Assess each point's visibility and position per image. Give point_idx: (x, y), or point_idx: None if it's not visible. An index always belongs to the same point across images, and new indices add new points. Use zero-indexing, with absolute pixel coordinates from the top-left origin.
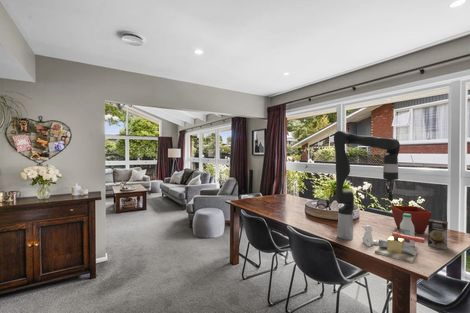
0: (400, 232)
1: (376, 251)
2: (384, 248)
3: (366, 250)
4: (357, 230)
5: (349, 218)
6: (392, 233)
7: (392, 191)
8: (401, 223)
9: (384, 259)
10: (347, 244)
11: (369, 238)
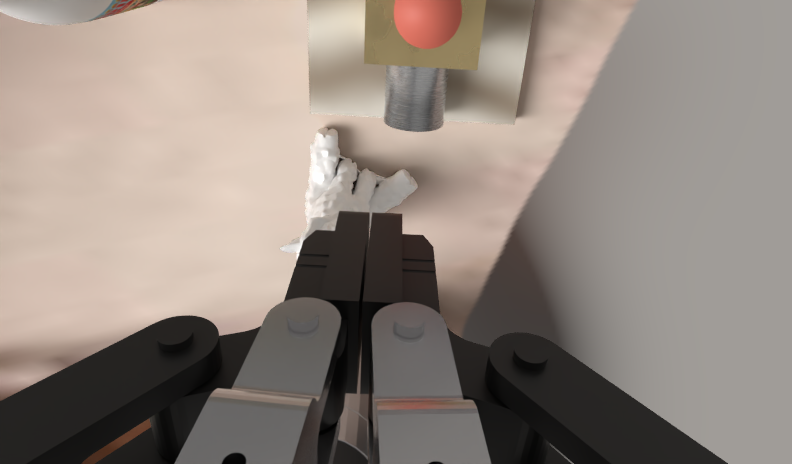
0: (128, 5)
1: (515, 111)
2: None
3: (496, 170)
4: (116, 307)
5: (352, 415)
6: (443, 43)
7: (449, 376)
8: (63, 9)
9: (598, 41)
10: (462, 282)
11: (365, 200)
